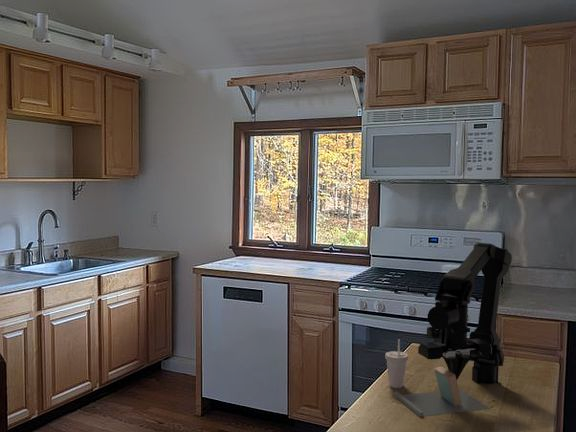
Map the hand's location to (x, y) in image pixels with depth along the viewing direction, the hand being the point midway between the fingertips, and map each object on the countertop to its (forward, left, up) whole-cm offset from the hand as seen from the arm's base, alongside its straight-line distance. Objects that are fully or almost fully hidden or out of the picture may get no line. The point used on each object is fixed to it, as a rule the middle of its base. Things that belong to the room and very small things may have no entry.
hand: (454, 380), depth 151 cm
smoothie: (+10, -14, -6) cm, 18 cm away
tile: (+1, 0, -5) cm, 5 cm away
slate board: (+4, 0, -6) cm, 7 cm away
